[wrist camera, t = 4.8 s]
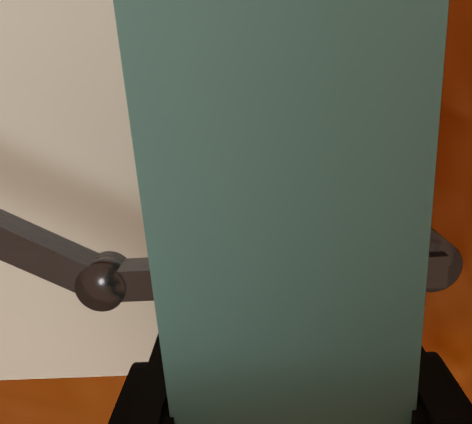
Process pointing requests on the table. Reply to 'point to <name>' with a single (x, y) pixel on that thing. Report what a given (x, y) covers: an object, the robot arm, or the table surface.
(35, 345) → the base board
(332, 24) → the teal rectangular frame
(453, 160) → the table surface
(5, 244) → the dark hinged linkage
